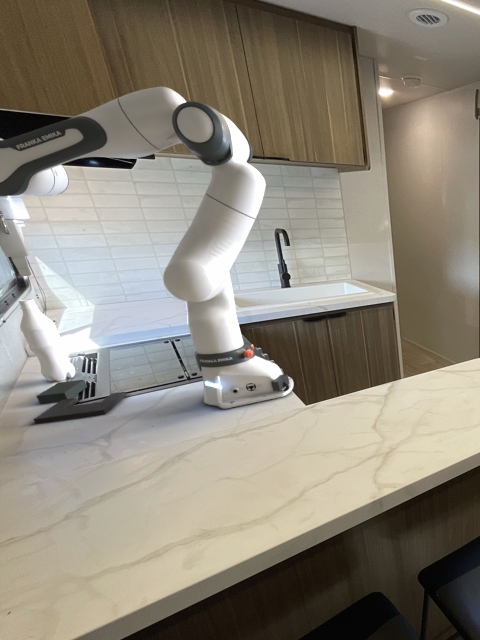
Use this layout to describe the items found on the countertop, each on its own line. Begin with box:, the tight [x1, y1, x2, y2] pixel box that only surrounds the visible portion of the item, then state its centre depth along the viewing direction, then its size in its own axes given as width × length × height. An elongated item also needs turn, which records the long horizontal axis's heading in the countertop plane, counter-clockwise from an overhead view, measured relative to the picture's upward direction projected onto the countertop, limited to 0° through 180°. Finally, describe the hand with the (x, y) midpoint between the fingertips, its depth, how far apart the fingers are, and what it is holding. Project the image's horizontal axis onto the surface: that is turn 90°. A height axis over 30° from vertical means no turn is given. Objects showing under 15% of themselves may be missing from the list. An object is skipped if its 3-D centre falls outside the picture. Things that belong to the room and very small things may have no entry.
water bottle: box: [18, 298, 76, 382], centre depth 122 cm, size 7×7×25 cm
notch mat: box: [33, 391, 127, 424], centre depth 107 cm, size 14×12×1 cm
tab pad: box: [36, 379, 88, 405], centre depth 115 cm, size 6×10×2 cm, turn 20°
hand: (25, 273), depth 96 cm, fingers open, 8 cm apart
